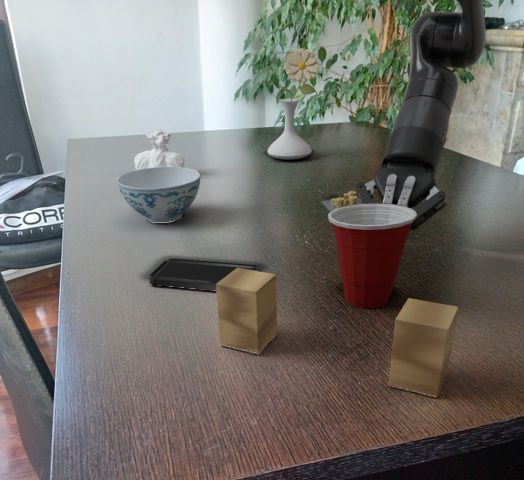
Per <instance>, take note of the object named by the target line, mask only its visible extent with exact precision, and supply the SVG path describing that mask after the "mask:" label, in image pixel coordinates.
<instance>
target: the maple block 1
mask: <svg viewBox="0 0 524 480" xmlns="http://www.w3.org/2000/svg"><path fill="white" fill-rule="evenodd" d="M215 293H216V304H217V306H216V307H217V318H218V331H219V344H223V345H227V346H231V347H235V348H239V349H244V350H248V351H252V352H256V353H259V352H260V351H261V350H262V349H263V348H264V347H265V345H266V344H267V343H268V342H269V341H270V340H271V339H272V338H273V337H274V336H275V335H276V334H277V335H278V313H277V312H278V311H277V309H278V308H277V307H278V305H277V302H278V301H277V274H275V273H270V272H264V271H260V272H259V271H253V270H248V269H242V268H236V269H235V270H234V271H233V272H231V273H230V274H229V275H227V276H226V277H225V278H223V279H222V280H221V281H219V282H218V283H217V284H216V292H215Z"/></svg>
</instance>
